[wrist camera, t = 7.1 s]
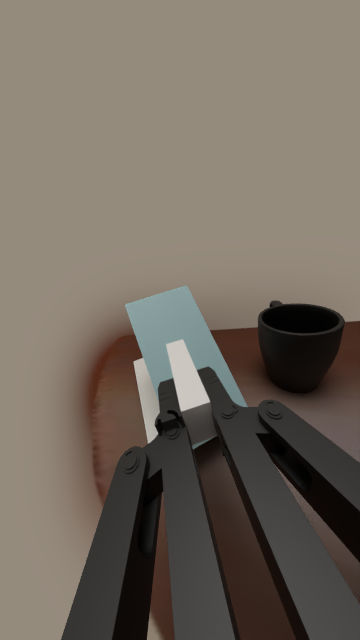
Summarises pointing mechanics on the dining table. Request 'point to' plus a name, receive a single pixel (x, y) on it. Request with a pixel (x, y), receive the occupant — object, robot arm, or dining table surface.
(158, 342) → the teal block
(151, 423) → the white mat
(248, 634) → the dining table surface
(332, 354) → the mug
